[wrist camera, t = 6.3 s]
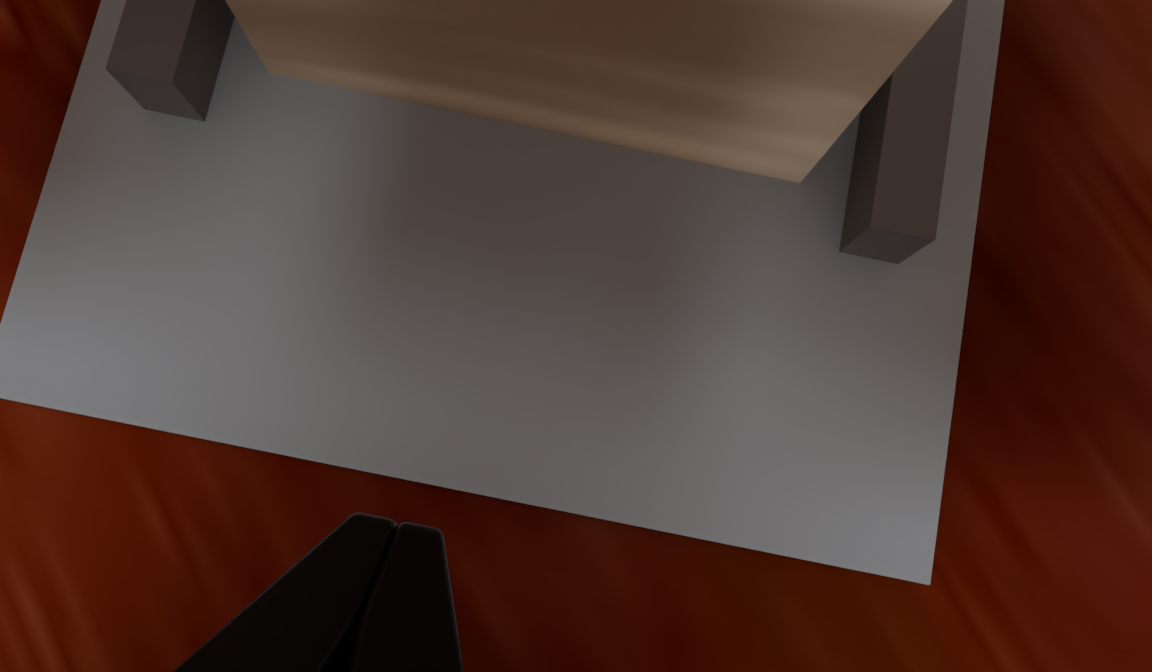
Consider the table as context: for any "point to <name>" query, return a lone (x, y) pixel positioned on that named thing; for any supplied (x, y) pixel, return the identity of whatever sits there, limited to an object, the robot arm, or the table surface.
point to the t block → (613, 65)
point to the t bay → (514, 292)
